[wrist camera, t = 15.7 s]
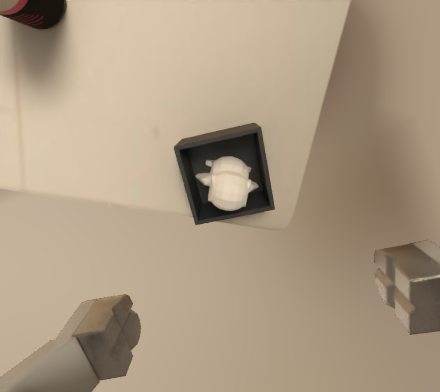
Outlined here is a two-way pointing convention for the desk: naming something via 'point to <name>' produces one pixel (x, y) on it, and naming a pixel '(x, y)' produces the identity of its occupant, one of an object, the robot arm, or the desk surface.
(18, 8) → the beverage can
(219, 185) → the figurine
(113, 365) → the robot arm
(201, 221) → the dark grey hollow box
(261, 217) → the desk surface
